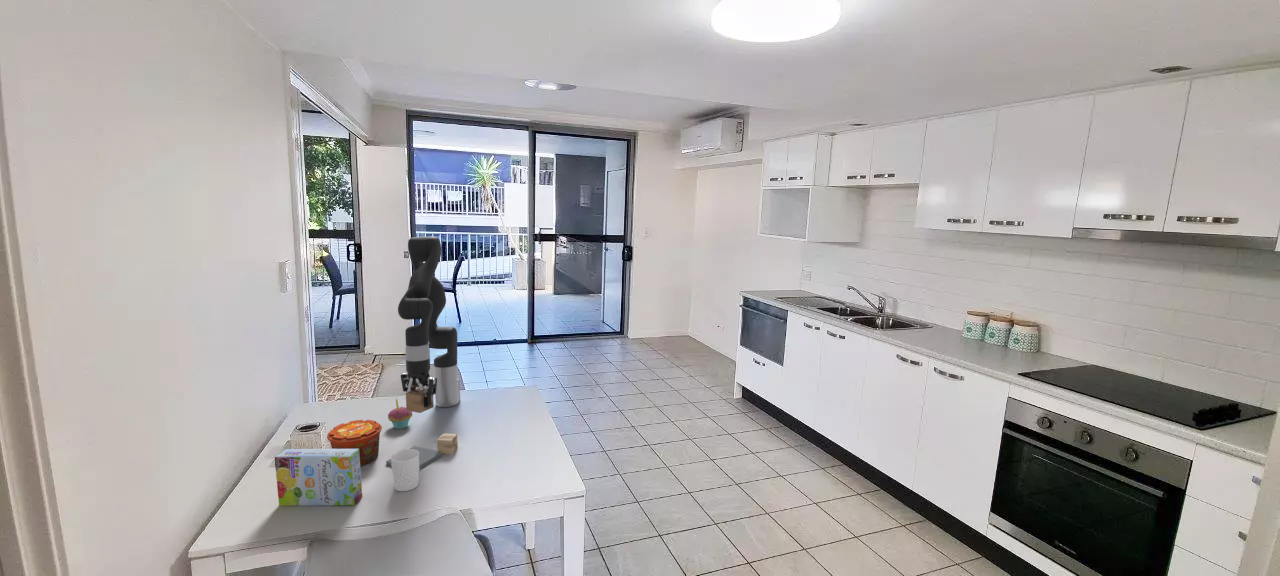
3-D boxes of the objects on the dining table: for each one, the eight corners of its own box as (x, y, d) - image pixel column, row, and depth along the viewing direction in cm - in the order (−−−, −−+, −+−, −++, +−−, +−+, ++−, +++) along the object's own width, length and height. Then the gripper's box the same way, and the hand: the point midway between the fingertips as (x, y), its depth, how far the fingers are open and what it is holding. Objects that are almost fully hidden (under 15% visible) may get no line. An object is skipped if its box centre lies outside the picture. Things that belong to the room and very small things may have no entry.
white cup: (412, 476, 167) (411, 446, 165) (425, 485, 162) (424, 454, 161) (387, 486, 161) (385, 455, 159) (400, 495, 156) (398, 464, 155)
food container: (361, 473, 168) (358, 441, 167) (317, 467, 171) (314, 436, 170) (393, 450, 184) (392, 421, 182) (353, 445, 187) (351, 416, 185)
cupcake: (406, 431, 199) (404, 400, 197) (384, 430, 199) (381, 400, 197) (416, 421, 207) (414, 392, 205) (395, 421, 207) (393, 391, 205)
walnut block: (420, 404, 184) (419, 387, 184) (433, 407, 182) (432, 390, 181) (406, 410, 179) (405, 393, 178) (420, 413, 177) (419, 395, 176)
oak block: (443, 447, 187) (442, 433, 186) (457, 447, 187) (457, 434, 186) (437, 453, 182) (437, 440, 181) (452, 454, 182) (451, 440, 181)
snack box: (363, 495, 156) (360, 447, 153) (354, 506, 150) (350, 456, 148) (289, 495, 155) (285, 447, 153) (277, 506, 150) (272, 456, 147)
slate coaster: (414, 448, 185) (414, 445, 185) (441, 455, 180) (441, 452, 180) (386, 464, 174) (386, 461, 174) (414, 472, 170) (414, 468, 169)
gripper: (442, 357, 179) (444, 405, 181) (410, 352, 184) (412, 399, 187) (426, 362, 172) (428, 412, 174) (392, 357, 177) (395, 405, 180)
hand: (419, 405), depth 180 cm, fingers closed on walnut block, 6 cm apart
